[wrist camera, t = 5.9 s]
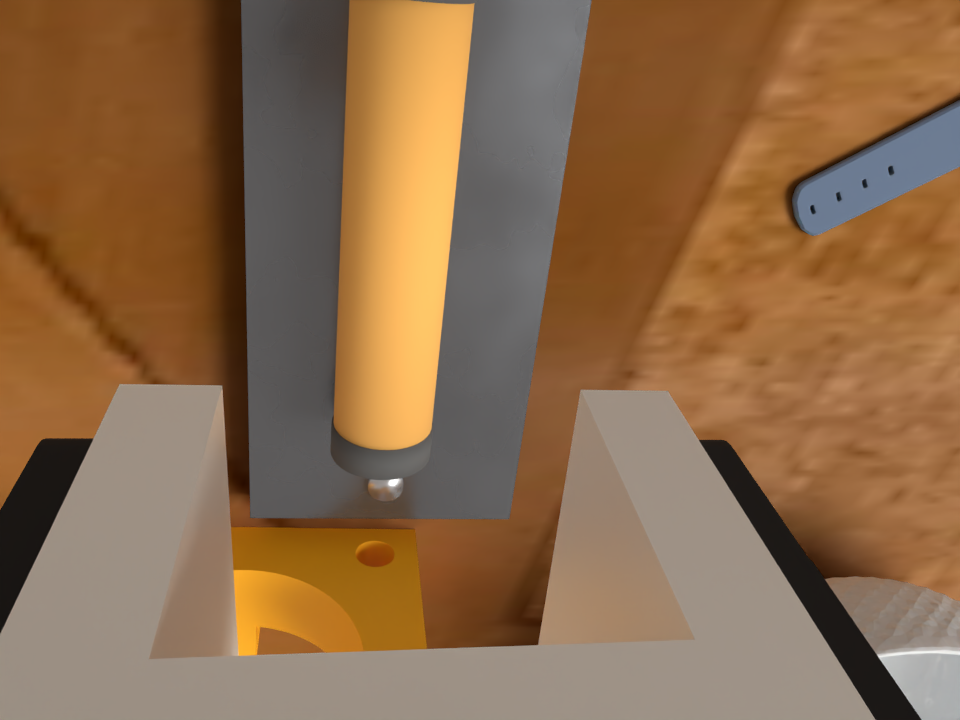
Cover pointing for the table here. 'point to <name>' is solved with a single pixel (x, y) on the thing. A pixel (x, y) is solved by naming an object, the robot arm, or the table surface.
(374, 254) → the handle
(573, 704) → the white u-shaped block
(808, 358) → the table surface
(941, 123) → the wristwatch
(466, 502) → the mounting plate
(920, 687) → the cereal bowl
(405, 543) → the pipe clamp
